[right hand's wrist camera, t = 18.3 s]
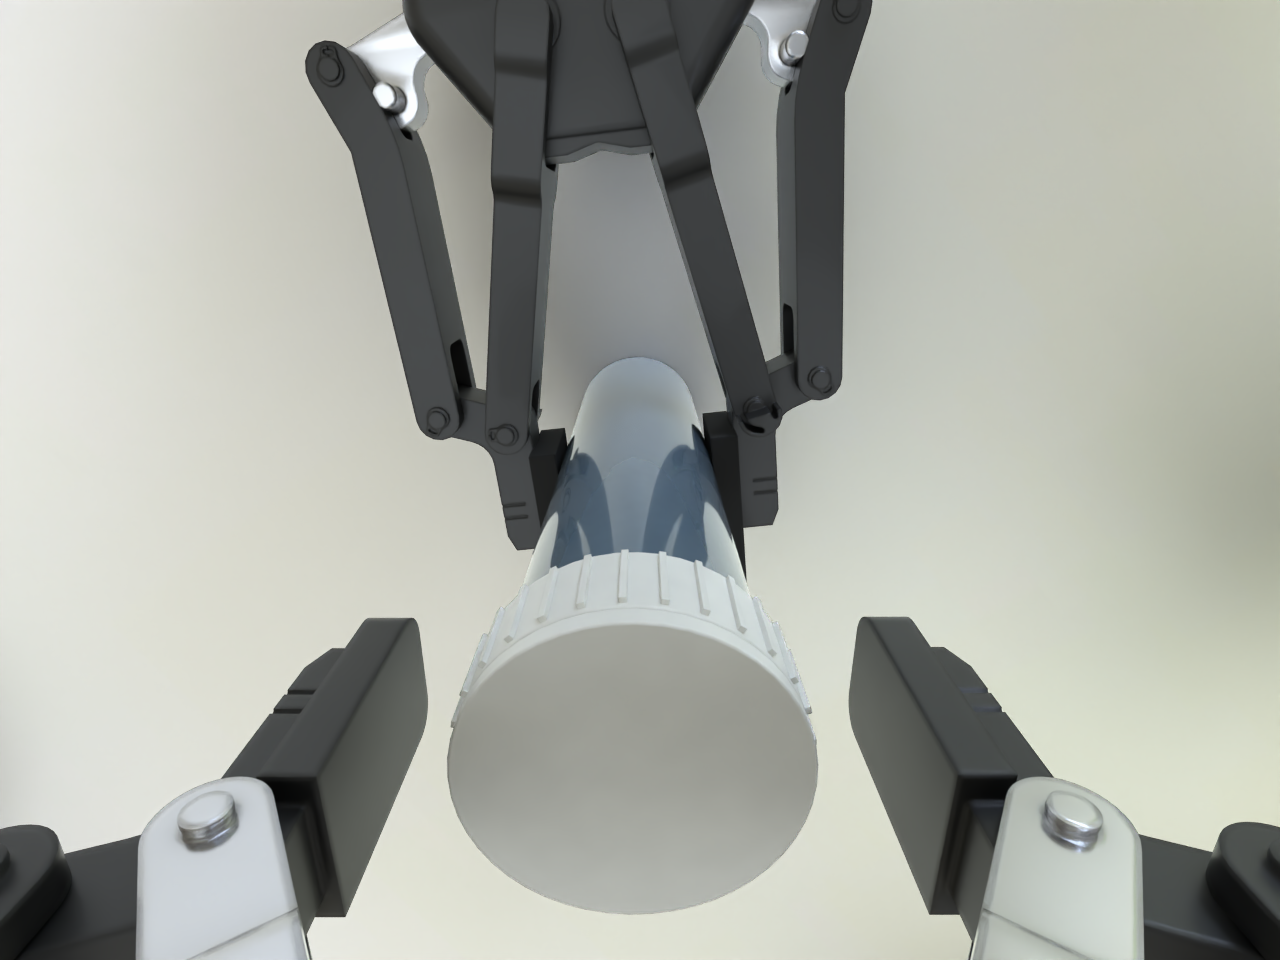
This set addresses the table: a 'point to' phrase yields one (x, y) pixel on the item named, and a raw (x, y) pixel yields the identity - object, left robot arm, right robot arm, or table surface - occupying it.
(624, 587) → the lid
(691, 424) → the blue slim bottle
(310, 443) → the table surface
